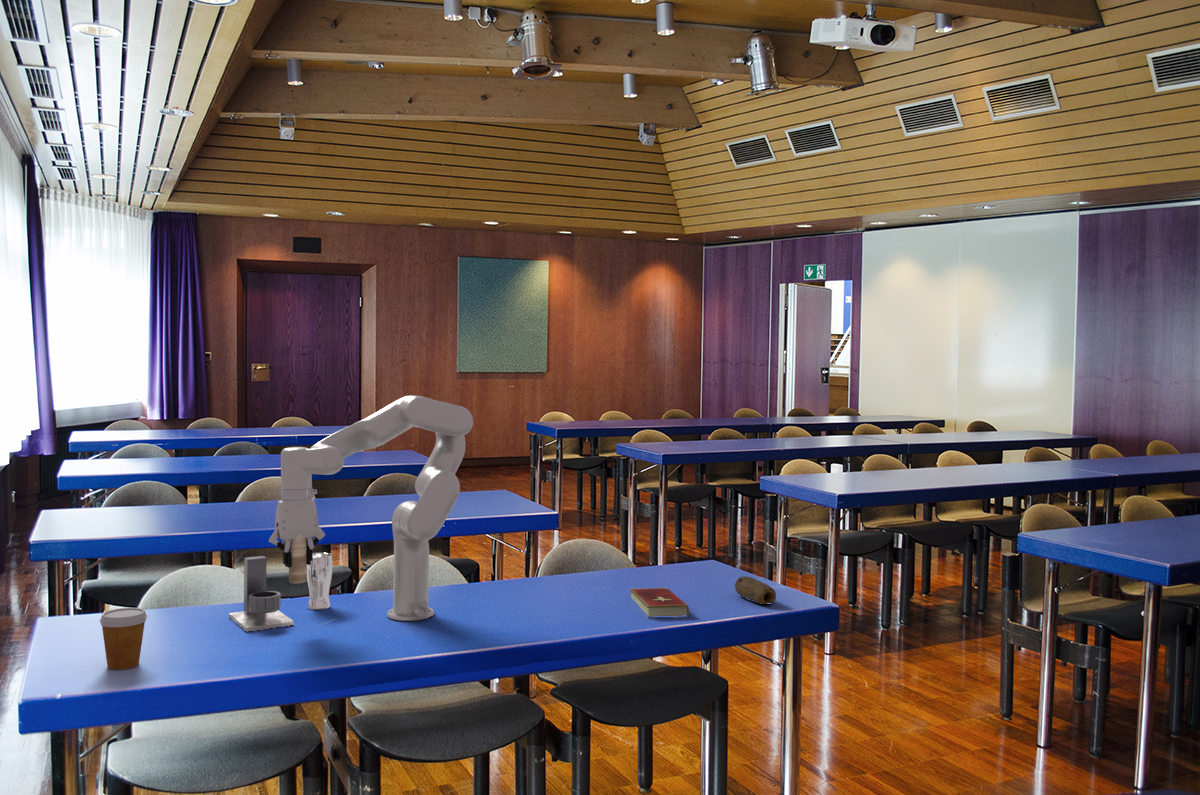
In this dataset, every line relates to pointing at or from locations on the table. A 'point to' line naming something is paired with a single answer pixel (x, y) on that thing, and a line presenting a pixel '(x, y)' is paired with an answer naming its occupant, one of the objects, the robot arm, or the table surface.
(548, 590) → the table surface
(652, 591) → the hardcover book
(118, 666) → the disposable coffee cup
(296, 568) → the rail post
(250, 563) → the cup bracket
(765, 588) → the stone weight
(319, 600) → the beer glass
